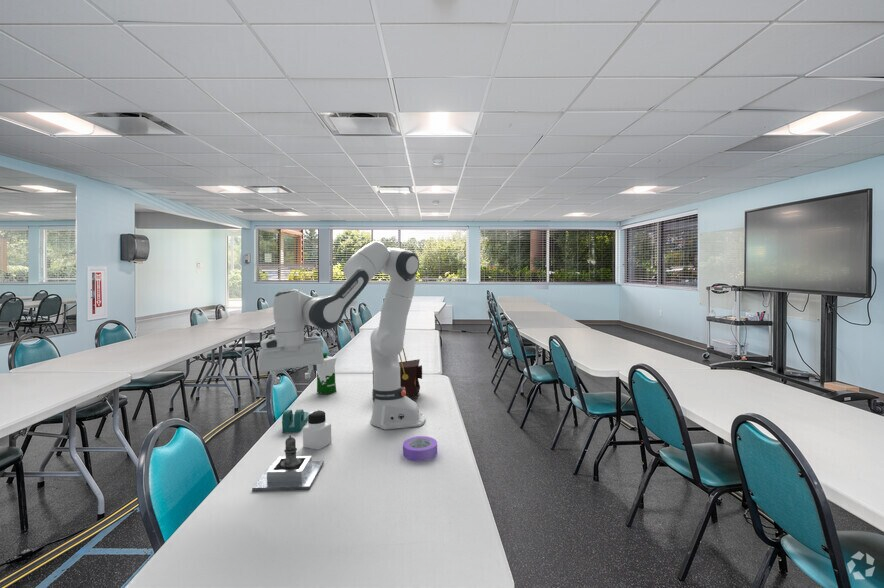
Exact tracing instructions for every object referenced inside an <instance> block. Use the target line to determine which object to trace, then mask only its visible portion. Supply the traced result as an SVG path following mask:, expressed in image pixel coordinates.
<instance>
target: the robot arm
mask: <svg viewBox="0 0 884 588" xmlns="http://www.w3.org/2000/svg"><path fill="white" fill-rule="evenodd" d="M419 267H420V262H419V256H418V255H417V254H416V253H415V252H413V251H411V250H408V249H402V248H399V247H387V246H386V244H384V243H383V242H381V241H379V240H378V241H377V240H375V241H374V240H373V241H371V242H369V243H368V244H367V243H366V244H365V245H364V246H363V247H361V248H360V249H359V250H357V251H356V252H354V253H353V254H352V255H351V256H350V257H348V259H347V261H346V262H345V263H344V265H343V268H342V269H343V275H344V277H345V279H346V280H345V281H344V282H343V283H342V284H341V285H340V287H338V289H336V291H335V292H333V293H332V294H331V295H329V296H326V297H314V296H311V295H308V294H306V293H304V292H303V291H301V290H299V289H298V288H290V289H284V290H281V291H279V292H277V293H276V294H275V295H274V297H273V303H272V304H273V308H272V309H273V312H272V313H273V320H274V323H275V327H274V335H271V336H269V337H267V338H264V339H261V341H260V347H261V348H260V349H259V351H258V356H257V370H258V371H259V372H260V373H268V372H269V374H270V375H271V377H272V378H273V381H274V384H275V385H279V384H281V378H280V377H279V376H278V377H277V376H276V373H277V372H276V371H281V370H287V369H294V368H295V369H296V368H303V367H307V368H308V369H307V372H305V373H304V378H305V380H310V379H311V374H312V372H313V370H314V366H315V365H316V364H322V362H323V361H324V357H323V353H324V352H323V347H324V341H323V339H322V338H321V337H319V335H318V336H311V337H310V336H308V337H305V332H304V331H305V330H304V327H305V326H311V327H315V328H319V329H322V330H325V331H326V330H332V329H334V328H336V327H337V326H338V325H339V324H340V322H341V320H342V319H343V316H344V314H345V312H346V311H347V309H348V308H349V306H350V305H351V304H352V303H353V302H354V301H355V299H356V298H357V297H358V296H359V295H360V294H361V292H363V290H364V289H365V287H366V286H367V284H369V283H370V281H371V280H372V279H373V278H374V277H375V276H376V275H378V274H379V273H381V274H385V275H387V276H389V278H390V280H389V283H388V286H387V289H386V293H385V295H384V299H383V302H382V306H381V310H380V318H379V323H378V327H376V328H374V329H373V331H371V334H370V338H369V340H370V341H369V342H370V350H371V351H370V353H371V361H372V363H371V364H372V384H373V383H374V387H373V386H372V391H371V392H372V393H371V394H372V395H371V396H372V397H371V398H372V403H373V405H372V413H371V416H370V417H371V419H370V421H369V422H370V424H371V425H372V426H374V427H378V428H380V429H382V430H383V431H384V430H394V429H405V428H416V427H421V426H423V425H424V424H425V422H426V417H425V415H424V414H423V413H422V412H420V408H419V405H418V404H417V402H415V401H414V400H412V399H411V397H410V398H409V396H405V395H406V390H405V387H404V388H403V387H401V386H400V366H399V362H400V361H399V354H400V355H401V352H403V348H404V339H405V335H406V328H407V320H408V315H409V311H410V310H411V309H410V308H411V304H412V300H413V297H414V293H415V289H416V288H415V287H416V275H417V272H418V270H419Z"/></svg>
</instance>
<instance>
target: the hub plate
mask: <svg viewBox="0 0 884 588" xmlns="http://www.w3.org/2000/svg"><path fill="white" fill-rule="evenodd" d="M296 457H297V458H299V459H301V463H300V467H299V468H298V469H293V470H283V469H282V466H281V462H282V461H284V460H285V458H286V456H278V457H277V459H276V460H275V461H273V462H272V463H271V465H270V466H269V467H268V468H267V469H266V471H265V472H264V473H263V474H262V475H261V476H260V477H259V479H258V480H257V481H256V483H255V484H254V485H253V486H252V488H251V490H252V492H275V491H276V492H277V491H278V492H279V491H283V492H284V491H307V490H308V491H309V490H310V489H311V488H312V485H313V484H314V482H315V480H316V479H317V477H318V476H319V473H320V471H321V470H322V468H323V466H324V464H325V462H324V460H313V459H312V455H302V456H301V455H299V456H297V455H296Z"/></svg>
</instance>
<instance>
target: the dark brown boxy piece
mask: <svg viewBox="0 0 884 588" xmlns="http://www.w3.org/2000/svg"><path fill="white" fill-rule="evenodd" d="M402 352H403V357H404V360H405V361H403V360H402V356H401V353H400V354H398V357H399V359H400V361H399V366H400V386H401V387H403V388H404V387H405V390H406V395H405V396H407V397H419V393H420V390H421V389H420V388H421V385H420V381H419V379H421V380H422V379H423V365H420V360H421V359H412V360H408V359H407V357H406V353H405V349H404V347H403V349H402ZM373 387H374V383H373V382H372V388H373Z"/></svg>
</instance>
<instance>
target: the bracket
mask: <svg viewBox="0 0 884 588" xmlns="http://www.w3.org/2000/svg"><path fill="white" fill-rule="evenodd" d="M309 413H310V412H308V411H305V409H303V408H302V409H300V408H299V409H296V410H295V411H294V413H293V410H292V409H285V410H283V413H282V416H281V425H282V426H281V428H282V429H281V431H282V432H281V433H282V434H289V433H292V434H293V433H301V432H302V431H303V427H305V426H306V424H308V414H309Z"/></svg>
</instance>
